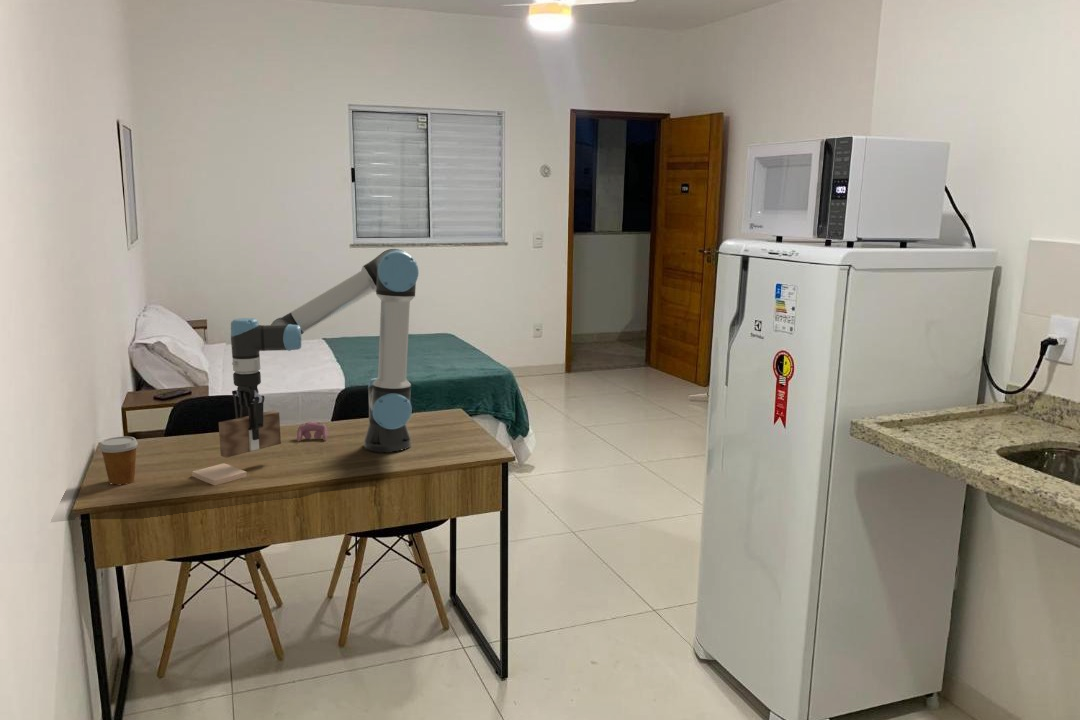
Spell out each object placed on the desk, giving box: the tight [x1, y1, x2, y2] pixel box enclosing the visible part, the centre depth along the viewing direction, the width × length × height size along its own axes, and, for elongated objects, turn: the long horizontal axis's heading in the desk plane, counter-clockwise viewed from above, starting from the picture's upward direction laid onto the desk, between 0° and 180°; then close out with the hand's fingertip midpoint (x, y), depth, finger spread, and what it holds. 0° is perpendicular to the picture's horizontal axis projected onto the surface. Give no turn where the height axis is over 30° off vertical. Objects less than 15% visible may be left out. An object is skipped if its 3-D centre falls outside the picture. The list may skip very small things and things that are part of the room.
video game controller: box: [296, 421, 328, 443], centre depth 267 cm, size 10×5×7 cm, turn 101°
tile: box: [191, 463, 248, 486], centre depth 229 cm, size 2×12×10 cm
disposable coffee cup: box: [99, 436, 139, 485], centre depth 222 cm, size 10×10×12 cm
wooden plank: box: [218, 410, 282, 459], centre depth 235 cm, size 18×3×10 cm, turn 142°
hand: (250, 448), depth 236 cm, fingers closed on wooden plank, 3 cm apart
